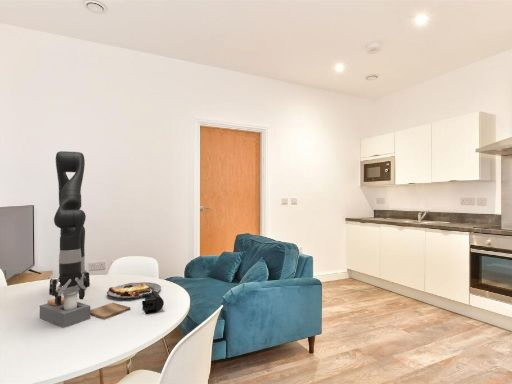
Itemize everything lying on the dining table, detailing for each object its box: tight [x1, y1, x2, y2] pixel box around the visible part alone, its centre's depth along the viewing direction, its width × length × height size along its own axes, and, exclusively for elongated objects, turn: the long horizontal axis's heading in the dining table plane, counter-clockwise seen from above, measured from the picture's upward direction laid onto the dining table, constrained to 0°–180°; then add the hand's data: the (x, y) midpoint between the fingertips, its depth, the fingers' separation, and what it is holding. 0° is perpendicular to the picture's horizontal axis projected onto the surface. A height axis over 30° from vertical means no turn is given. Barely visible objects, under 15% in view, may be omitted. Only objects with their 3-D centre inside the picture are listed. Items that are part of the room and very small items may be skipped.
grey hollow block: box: [39, 301, 91, 329], centre depth 124 cm, size 10×18×5 cm, turn 59°
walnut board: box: [90, 302, 131, 320], centre depth 130 cm, size 12×12×1 cm
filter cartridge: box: [62, 290, 78, 311], centre depth 122 cm, size 5×5×11 cm
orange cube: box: [47, 296, 64, 306], centre depth 126 cm, size 5×5×5 cm
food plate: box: [106, 281, 162, 299], centre depth 155 cm, size 25×23×4 cm
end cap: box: [141, 290, 164, 315], centre depth 132 cm, size 10×7×7 cm
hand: (70, 302), depth 122 cm, fingers open, 8 cm apart
